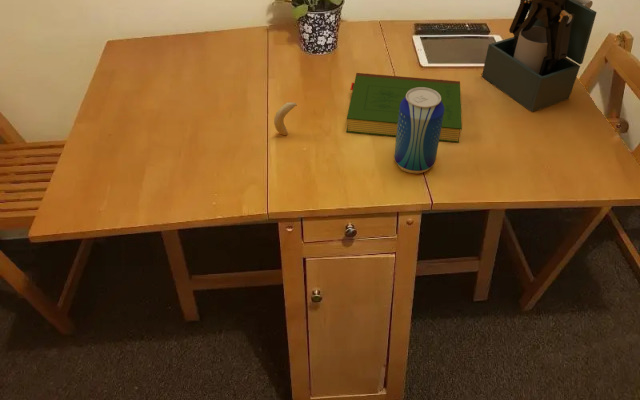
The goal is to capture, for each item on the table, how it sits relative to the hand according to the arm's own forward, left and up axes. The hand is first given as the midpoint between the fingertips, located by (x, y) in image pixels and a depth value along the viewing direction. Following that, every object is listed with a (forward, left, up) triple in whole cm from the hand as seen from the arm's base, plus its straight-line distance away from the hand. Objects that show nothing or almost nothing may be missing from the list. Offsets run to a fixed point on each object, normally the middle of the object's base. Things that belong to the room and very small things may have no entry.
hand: (528, 72), depth 137 cm
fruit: (+10, +59, -4) cm, 60 cm away
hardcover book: (+5, +32, -4) cm, 33 cm away
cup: (0, 0, 0) cm, 0 cm away
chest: (0, 0, -4) cm, 4 cm away
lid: (0, -5, +11) cm, 12 cm away
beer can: (-11, +40, -4) cm, 42 cm away
